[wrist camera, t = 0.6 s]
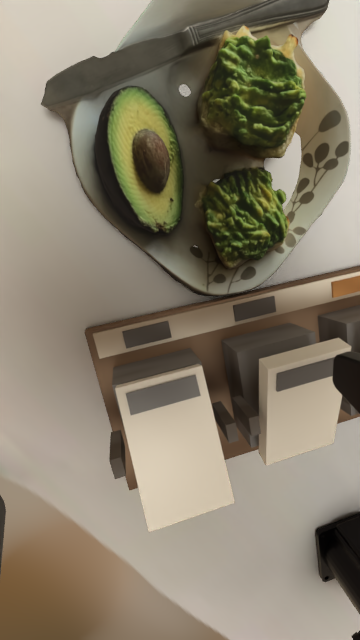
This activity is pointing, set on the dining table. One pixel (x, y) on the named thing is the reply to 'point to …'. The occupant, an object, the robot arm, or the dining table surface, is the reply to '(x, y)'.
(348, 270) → the switch console
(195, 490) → the switch
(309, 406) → the switch middle
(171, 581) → the dining table surface
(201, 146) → the salad plate
